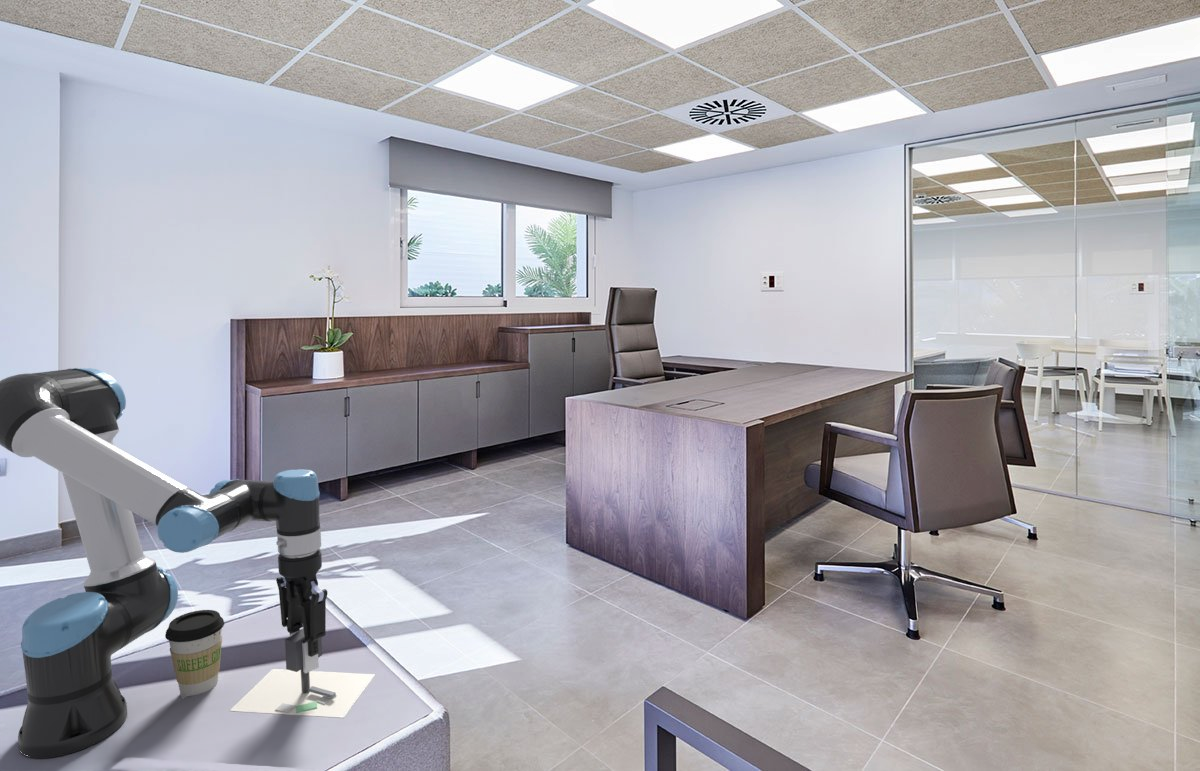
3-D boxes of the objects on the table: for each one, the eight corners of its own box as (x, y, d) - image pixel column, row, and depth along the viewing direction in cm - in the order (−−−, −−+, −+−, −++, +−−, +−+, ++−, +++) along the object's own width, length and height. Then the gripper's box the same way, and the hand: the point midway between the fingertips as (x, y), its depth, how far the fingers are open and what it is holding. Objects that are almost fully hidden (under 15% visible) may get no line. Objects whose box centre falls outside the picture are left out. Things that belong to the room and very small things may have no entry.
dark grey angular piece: (287, 698, 122) (284, 639, 121) (313, 680, 128) (310, 624, 127) (321, 708, 120) (319, 648, 118) (346, 689, 126) (343, 632, 124)
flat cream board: (229, 716, 119) (229, 709, 119) (272, 674, 133) (272, 667, 133) (343, 723, 118) (343, 716, 117) (375, 679, 131) (375, 673, 131)
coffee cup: (200, 709, 121) (195, 635, 119) (157, 702, 123) (151, 629, 121) (239, 680, 131) (235, 611, 129) (198, 674, 132) (193, 605, 131)
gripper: (256, 547, 123) (263, 661, 126) (306, 567, 114) (311, 690, 117) (293, 536, 129) (298, 645, 132) (343, 554, 120) (347, 670, 123)
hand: (304, 666), depth 124 cm, fingers closed on dark grey angular piece, 3 cm apart
